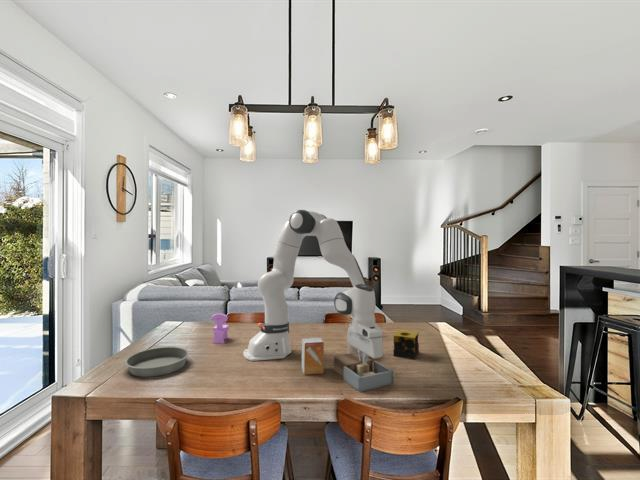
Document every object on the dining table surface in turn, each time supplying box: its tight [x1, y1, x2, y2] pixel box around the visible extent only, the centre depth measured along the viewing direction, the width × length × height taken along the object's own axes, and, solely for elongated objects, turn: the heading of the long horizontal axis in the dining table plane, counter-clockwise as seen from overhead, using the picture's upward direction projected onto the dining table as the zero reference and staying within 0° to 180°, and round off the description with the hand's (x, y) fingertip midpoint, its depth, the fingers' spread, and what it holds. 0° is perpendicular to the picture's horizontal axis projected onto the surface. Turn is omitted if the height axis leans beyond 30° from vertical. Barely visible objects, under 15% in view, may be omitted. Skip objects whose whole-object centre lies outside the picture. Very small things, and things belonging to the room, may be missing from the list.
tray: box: [343, 360, 395, 393], centre depth 130 cm, size 15×12×5 cm
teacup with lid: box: [347, 343, 358, 354], centre depth 161 cm, size 12×9×12 cm
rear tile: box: [356, 363, 369, 377], centre depth 134 cm, size 4×4×2 cm
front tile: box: [362, 371, 375, 376], centre depth 129 cm, size 4×4×2 cm
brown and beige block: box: [333, 352, 374, 377], centre depth 140 cm, size 12×10×6 cm
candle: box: [392, 329, 420, 360], centre depth 160 cm, size 10×10×10 cm
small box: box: [301, 336, 325, 376], centre depth 140 cm, size 8×6×13 cm
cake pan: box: [124, 346, 190, 378], centre depth 145 cm, size 25×25×4 cm
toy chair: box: [211, 313, 229, 344], centre depth 179 cm, size 8×9×15 cm
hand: (363, 362), depth 133 cm, fingers closed
